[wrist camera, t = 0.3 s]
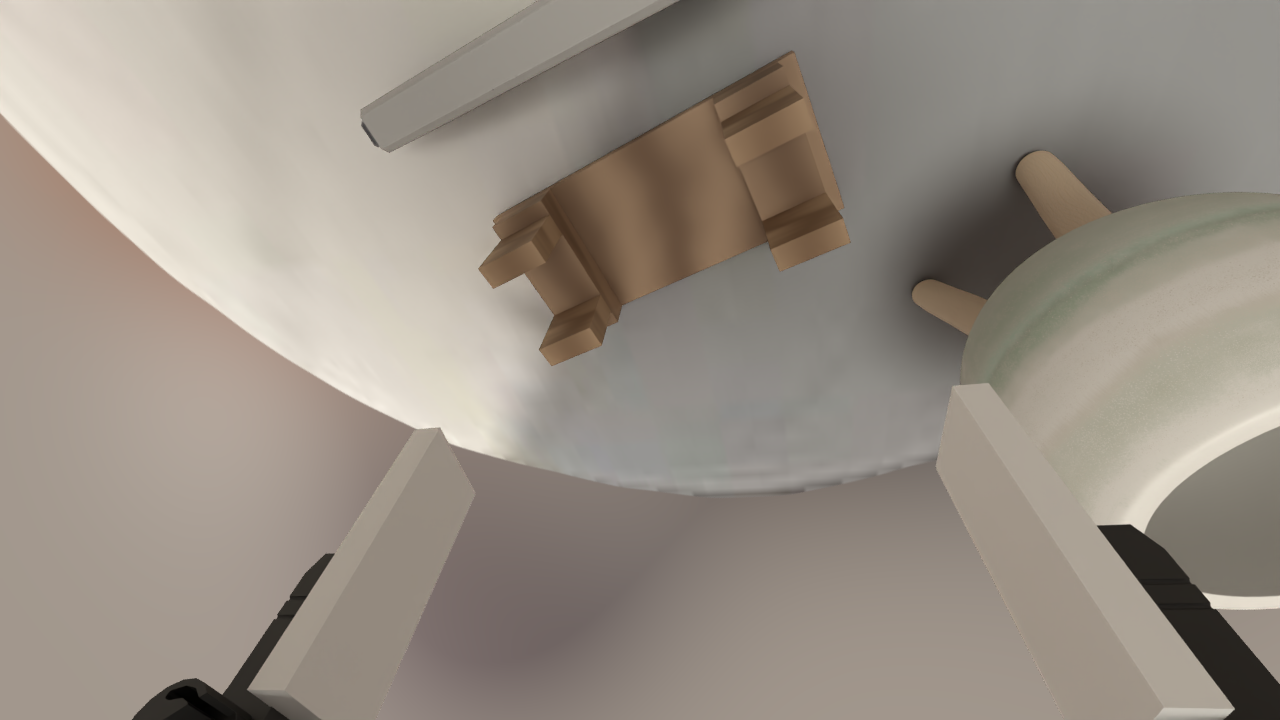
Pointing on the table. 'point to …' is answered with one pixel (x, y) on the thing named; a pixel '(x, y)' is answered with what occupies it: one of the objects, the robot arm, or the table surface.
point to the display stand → (675, 207)
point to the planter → (1147, 368)
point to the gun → (498, 64)
